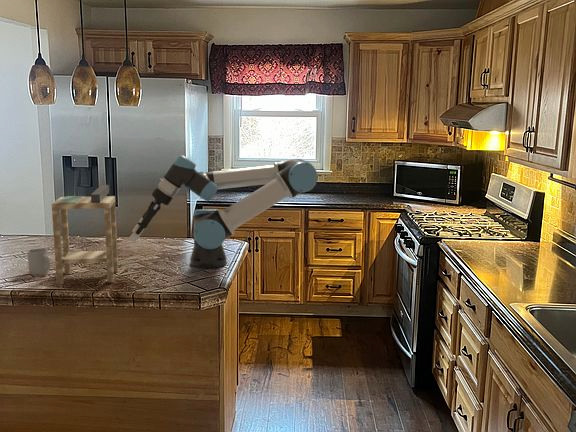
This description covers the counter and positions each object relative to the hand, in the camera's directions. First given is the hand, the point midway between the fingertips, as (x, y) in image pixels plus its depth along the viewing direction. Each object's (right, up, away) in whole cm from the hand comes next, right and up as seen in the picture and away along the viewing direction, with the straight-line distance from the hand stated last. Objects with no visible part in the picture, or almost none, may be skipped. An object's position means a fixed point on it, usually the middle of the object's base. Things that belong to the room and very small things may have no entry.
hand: (133, 236), depth 222 cm
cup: (-37, -15, +4) cm, 40 cm away
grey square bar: (-13, +15, 0) cm, 20 cm away
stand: (-17, -16, -1) cm, 23 cm away
